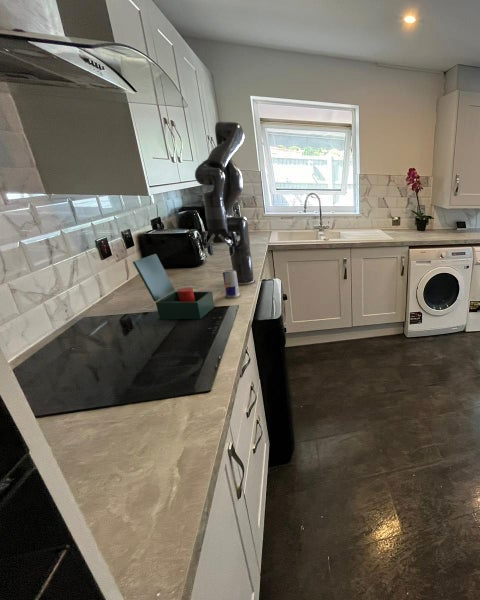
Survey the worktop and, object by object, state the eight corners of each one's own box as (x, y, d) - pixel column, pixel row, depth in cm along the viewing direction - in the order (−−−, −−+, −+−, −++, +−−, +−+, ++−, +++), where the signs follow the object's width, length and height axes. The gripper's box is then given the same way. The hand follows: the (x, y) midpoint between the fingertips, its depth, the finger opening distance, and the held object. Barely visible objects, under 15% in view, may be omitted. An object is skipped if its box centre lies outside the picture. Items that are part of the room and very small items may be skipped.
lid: (156, 253, 125) (154, 254, 125) (134, 261, 113) (132, 262, 113) (175, 290, 131) (173, 290, 131) (156, 301, 119) (154, 301, 119)
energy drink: (223, 296, 146) (219, 271, 142) (234, 293, 150) (230, 268, 146) (231, 299, 144) (227, 273, 140) (242, 295, 148) (238, 270, 144)
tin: (186, 308, 130) (181, 287, 127) (199, 308, 131) (195, 287, 128) (179, 313, 125) (174, 291, 122) (193, 313, 126) (188, 291, 123)
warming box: (214, 306, 135) (212, 291, 133) (200, 319, 123) (197, 302, 121) (177, 306, 133) (174, 291, 131) (159, 319, 122) (155, 302, 119)
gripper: (236, 217, 142) (241, 253, 147) (202, 216, 140) (208, 253, 145) (230, 219, 135) (235, 257, 140) (194, 218, 133) (200, 256, 138)
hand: (221, 255), depth 143 cm, fingers open, 8 cm apart
